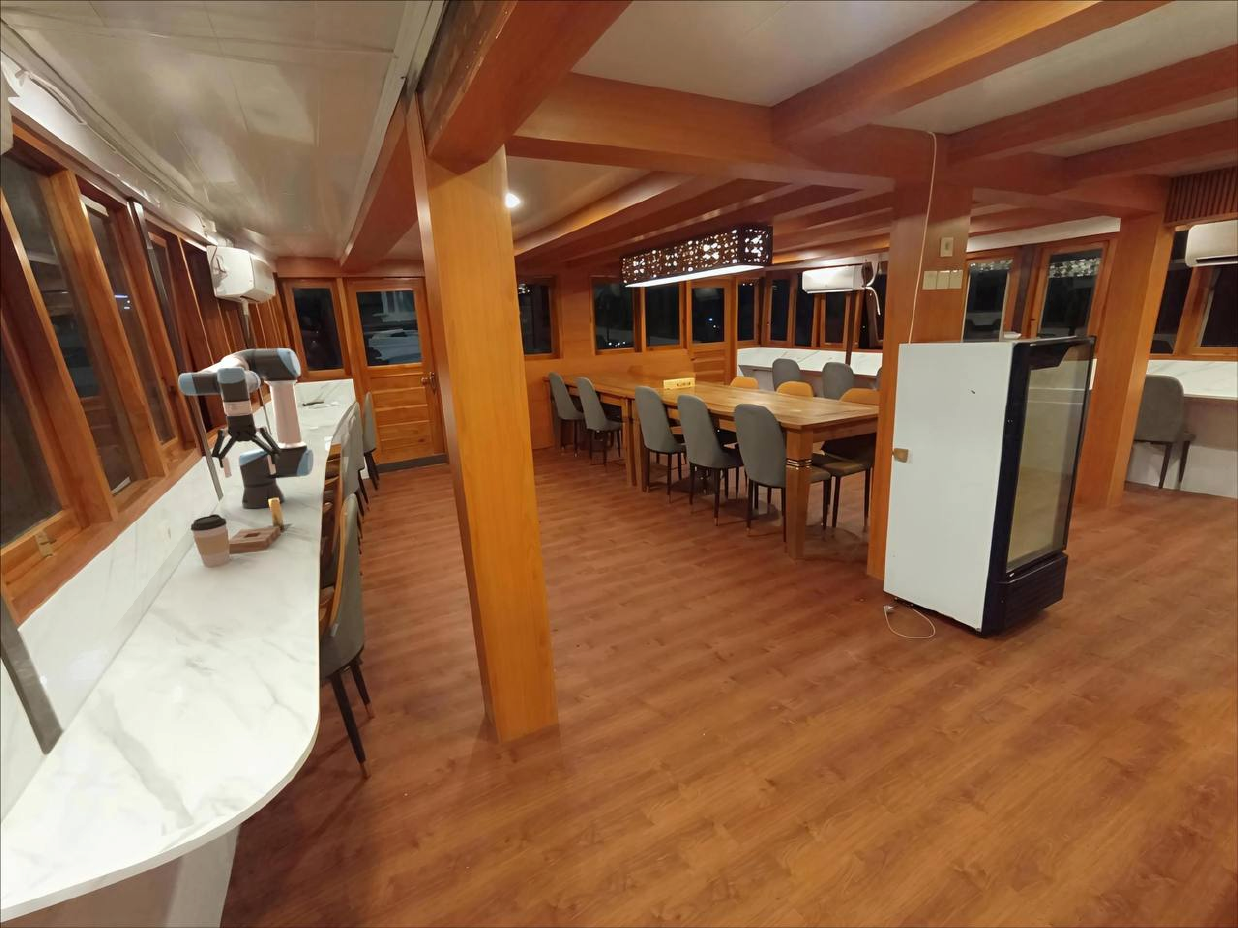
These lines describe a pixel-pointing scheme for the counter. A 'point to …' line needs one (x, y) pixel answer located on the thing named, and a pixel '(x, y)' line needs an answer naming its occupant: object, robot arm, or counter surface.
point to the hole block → (253, 539)
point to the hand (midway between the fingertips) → (251, 475)
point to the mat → (284, 527)
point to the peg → (276, 513)
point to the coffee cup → (212, 540)
